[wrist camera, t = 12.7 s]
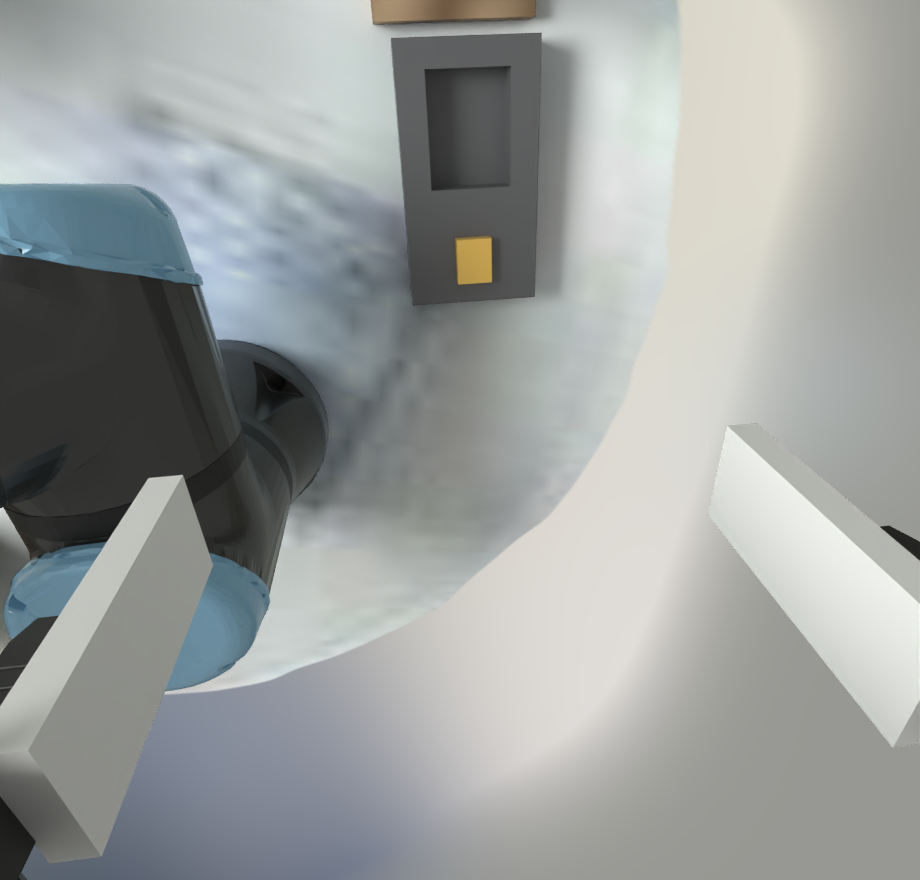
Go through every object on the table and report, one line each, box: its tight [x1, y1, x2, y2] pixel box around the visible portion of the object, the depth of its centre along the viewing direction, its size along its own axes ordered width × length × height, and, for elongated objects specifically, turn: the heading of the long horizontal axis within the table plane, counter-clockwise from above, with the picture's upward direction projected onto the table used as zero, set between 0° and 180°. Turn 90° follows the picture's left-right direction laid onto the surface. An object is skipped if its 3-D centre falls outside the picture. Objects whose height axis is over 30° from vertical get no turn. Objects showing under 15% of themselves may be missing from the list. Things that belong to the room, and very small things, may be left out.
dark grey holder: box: [391, 33, 542, 305], centre depth 39 cm, size 9×16×4 cm, turn 2°
